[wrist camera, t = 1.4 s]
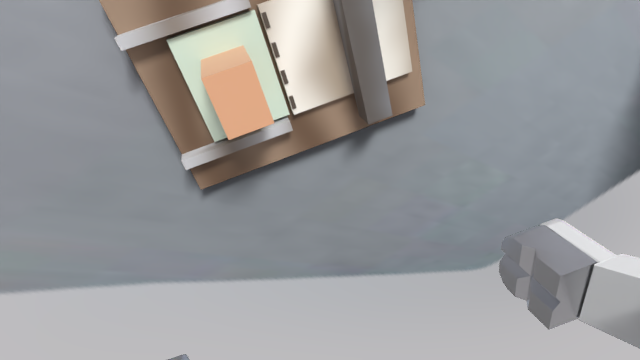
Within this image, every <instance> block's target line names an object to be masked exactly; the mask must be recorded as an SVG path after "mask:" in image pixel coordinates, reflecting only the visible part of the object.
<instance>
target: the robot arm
mask: <svg viewBox="0 0 640 360" xmlns="http://www.w3.org/2000/svg"><path fill="white" fill-rule="evenodd" d="M501 250H502V251H503V252H504V253H505V255H504V256H503V258H502V259H501V261H500V265H499V273H500V276H501V278H502V281H503V283H504V284H505V286H506V287H507V289H508V290H509V291H510V292H511V293H512V294H513V295H514V296H515V297H518V298H521V299H524V300H526V301H527V306H528V310H529V311H530V312H531V313H532V314H533V315H534V316H535V317H537V319H538V320H539V321H540V322H541V323H543V324H544V325H545V326H546V327H547V328H548V329H552V328H554V327H557V326H559V325H562V324H565V323H567V322H570V321H572V320H575V319H578V318H579V320H580V321H582V322H584V323H586V324H588V325H590V326H593V327H595V328H597V329H599V330H601V331H603V332H605V333H608V334H610V335H612V336H614V337H616V338H618V339H620V340H623V341H625V342H627V343H629V344H631V345H633V346H636V347H638V348H640V258H638V257H634V256H629V255H626V254H619V255H616V254H614V253H612V252H611V251H610V250H608V249H607V248H605V247H603V246H602V245H600V244H599V243H597V242H596V241H594V240H593V239H591V238H590V237H588V236H587V235H585V234H583V233H582V232H580V231H579V230H577V229H576V228H574V227H573V226H571V225H570V224H568V223H567V222H565V221H563V220H560V219H553V220H551V221H548V222H545V223H542V224H540V225H538V226H533V227H531V228H528V229H526V230H523V231H520V232H518V233H515V234H512V235H510V236H507V237H505V238H504V240H503V241H502V245H501ZM168 360H189V358H188V357H187V355H186V354H183V355H180V356H177V357H175V358H171V359H168Z"/></svg>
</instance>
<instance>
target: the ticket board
mask: <svg viewBox="0 0 640 360" xmlns="http://www.w3.org/2000/svg"><path fill="white" fill-rule="evenodd" d="M99 1H100V3H101V5H102V7H103V8H104V10H105V12H106V14H107V16H108V18H109V20H110V21H111V23H112V25H113V27H114V29H115V31H116V33H117V34H118V35H117V36H116V37H115V38H114V39H115V40H116V42H117V44H118V46H119V48H120V50H121V51H123V50H126V51H127V53H128V55H129V57H130V59H131V60H132V62H133V64H134V66H135V68H136V70H137V72H138V73H139V75H140V77H141V79H142V81H143V83H144V85H145V87H146V88H147V90H148V92H149V94H150V96H151V98H152V100H153V101H154V103H155V105H156V107H157V109H158V111H159V113H160V114H161V116H162V118H163V120H164V122H165V124H166V126H167V127H168V129H169V131H170V133H171V135H172V137H173V139H174V140H175V142H176V144H177V146H178V148H179V150H180V152H181V153H182V159H181V161H182V163H183V165H184V167H185V169H186V170H188V169H190V170H191V172H192V174H193V176H194V178H195V179H196V181H197V183H198V185H199V187H200V189H204V188H207V187H209V186H212V185H215V184H217V183H220V182H223V181H225V180H228V179H231V178H233V177H236V176H239V175H241V174H244V173H246V172H249V171H252V170H254V169H257V168H260V167H262V166H265V165H268V164H270V163H273V162H276V161H278V160H281V159H283V158H286V157H289V156H291V155H294V154H297V153H299V152H302V151H305V150H307V149H310V148H313V147H315V146H318V145H321V144H323V143H326V142H328V141H331V140H334V139H336V138H339V137H342V136H344V135H347V134H350V133H352V132H355V131H358V130H360V129H363V128H366V127H368V126H371V125H373V124H376V123H379V122H381V121H384V120H387V119H389V118H392V117H395V116H397V115H400V114H403V113H405V112H408V111H410V110H413V109H416V108H418V107H421V106H424V105H425V100H424V92H423V84H422V76H421V68H420V60H419V52H418V44H417V36H416V27H415V19H414V11H413V3H412V0H99ZM251 10H255V12H256V15H257V18H258V21H259V24H260V27H261V30H262V33H263V36H264V39H265V42H266V45H267V48H268V51H269V54H270V57H271V60H272V63H273V66H274V69H275V72H276V75H277V78H278V81H279V84H280V87H281V90H282V93H283V96H284V99H285V102H286V105H287V107H288V110H289V113H290V115H287V116H284V117H281V118H279V119H276V120H274V124H271V125H269V126H266V127H263V128H260V129H258V130H255V131H252V132H250V133H247V134H244V135H241V136H239V137H236V138H233V139H231V140H228V138H224V139H222V140H219V141H216V142H214V140H213V138H212V136H211V133H210V131H209V129H208V127H207V125H206V123H205V121H204V119H203V117H202V114H201V112H200V110H199V108H198V106H197V104H196V102H195V100H194V98H193V95H192V93H191V91H190V89H189V87H188V85H187V83H186V81H185V79H184V76H183V74H182V72H181V70H180V68H179V66H178V64H177V62H176V60H175V58H174V55H173V53H172V51H171V49H170V47H169V45H168V43H167V41H166V40H167V39H168V38H171V37H174V36H177V35H180V34H183V33H186V32H188V31H191V30H194V29H197V28H200V27H203V26H206V25H209V24H212V23H215V22H218V21H221V20H224V19H227V18H230V17H233V16H236V15H239V14H242V13H245V12H248V11H251Z"/></svg>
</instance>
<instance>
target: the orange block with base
mask: <svg viewBox="0 0 640 360" xmlns="http://www.w3.org/2000/svg"><path fill="white" fill-rule="evenodd" d="M166 41H167V43H168V45H169V47H170V49H171V51H172V53H173V55H174V58H175V60H176V62H177V64H178V66H179V68H180V70H181V72H182V74H183V76H184V79H185V81H186V83H187V85H188V87H189V89H190V91H191V93H192V95H193V98H194V100H195V102H196V104H197V106H198V108H199V110H200V112H201V114H202V117H203V119H204V121H205V123H206V125H207V127H208V129H209V131H210V133H211V136H212V138H213V140H214V142H216V141H219V140H222V139H224V138H228V140H231V139H233V138H236V137H239V136H241V135H244V134H247V133H250V132H252V131H255V130H258V129H260V128H263V127H266V126H269V125H271V124H274V120H276V119H279V118H281V117H284V116H287V115H290V113H289V110H288V107H287V105H286V102H285V99H284V96H283V93H282V90H281V87H280V84H279V81H278V78H277V75H276V72H275V69H274V66H273V63H272V60H271V57H270V54H269V51H268V48H267V45H266V42H265V39H264V36H263V33H262V30H261V27H260V24H259V21H258V18H257V15H256V12H255V10H251V11H248V12H245V13H242V14H239V15H236V16H233V17H230V18H227V19H224V20H221V21H218V22H215V23H212V24H209V25H206V26H203V27H200V28H197V29H194V30H191V31H188V32H186V33H183V34H180V35H177V36H174V37H171V38H168V39H167V40H166Z"/></svg>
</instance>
